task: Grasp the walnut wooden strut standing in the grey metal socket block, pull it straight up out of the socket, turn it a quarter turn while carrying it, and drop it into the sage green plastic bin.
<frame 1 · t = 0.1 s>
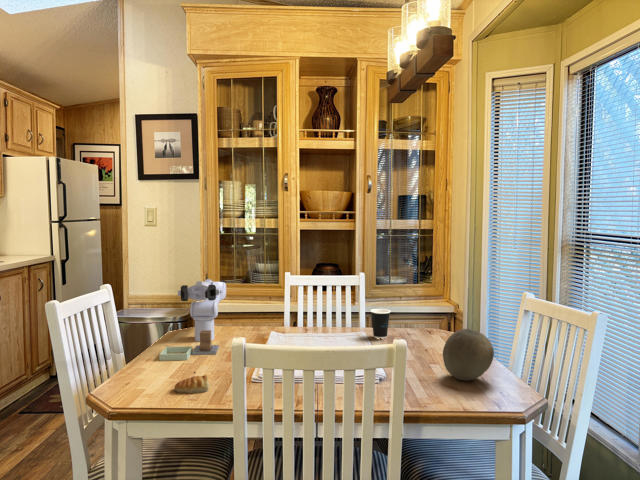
hand: (194, 294, 159), 22 cm above the table, fingers open, 7 cm apart
pastry: (194, 390, 130), on the table
bin: (176, 358, 157), on the table
cantaloupe: (466, 379, 139), on the table
dixie cup: (380, 338, 186), on the table
strut: (205, 351, 163), point 1 cm above the table, touching socket block
socket block: (205, 354, 163), on the table
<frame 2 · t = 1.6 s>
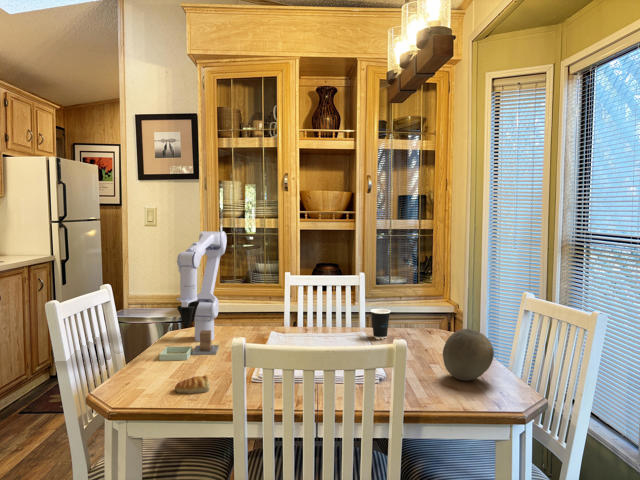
hand: (188, 324, 164), 10 cm above the table, fingers open, 7 cm apart
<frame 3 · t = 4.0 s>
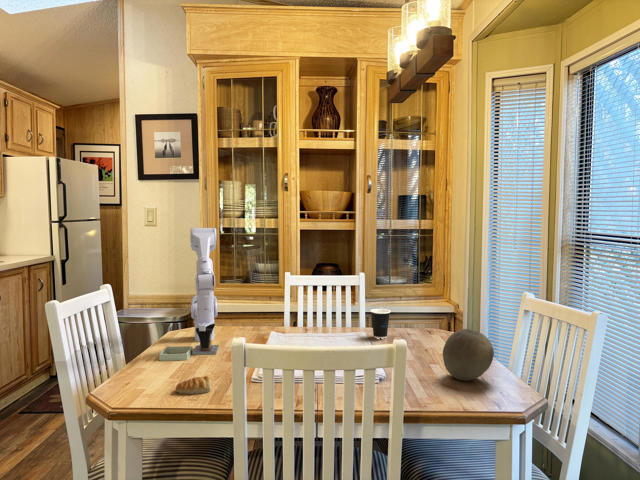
hand: (205, 346, 163), 3 cm above the table, fingers closed on strut, 3 cm apart
strut: (205, 351, 163), point 1 cm above the table, touching gripper, socket block
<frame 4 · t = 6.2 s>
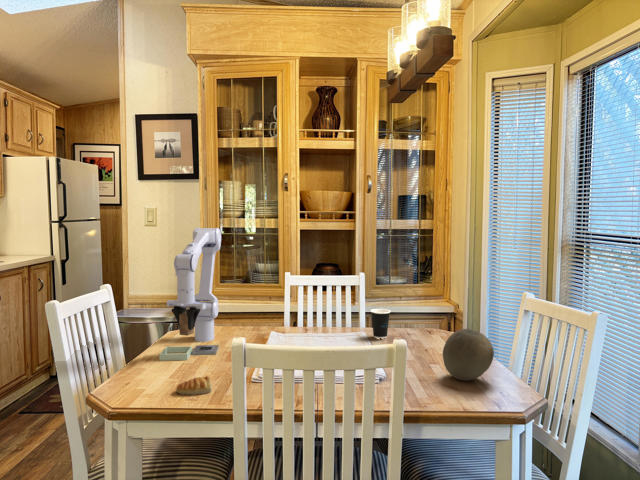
hand: (186, 328, 159), 10 cm above the table, fingers closed on strut, 3 cm apart
strut: (186, 334, 159), point 8 cm above the table, touching gripper
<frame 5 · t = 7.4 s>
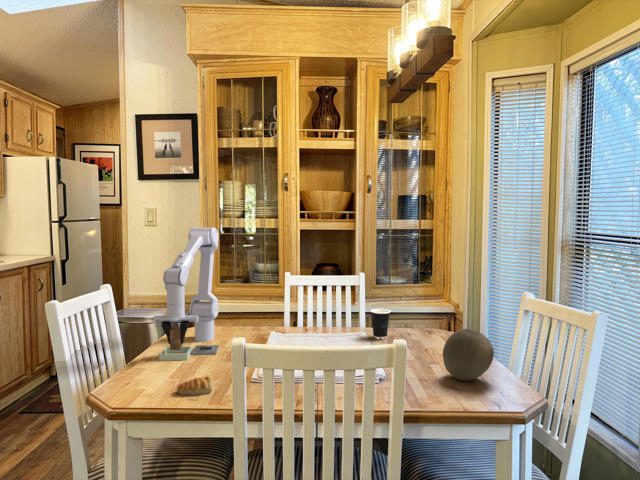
hand: (176, 343, 157), 5 cm above the table, fingers closed on strut, 3 cm apart
strut: (176, 348, 157), point 4 cm above the table, touching gripper
when the fingers open (4 cm above the table, at t = 8.5 s): strut drops 1 cm, resting on bin.
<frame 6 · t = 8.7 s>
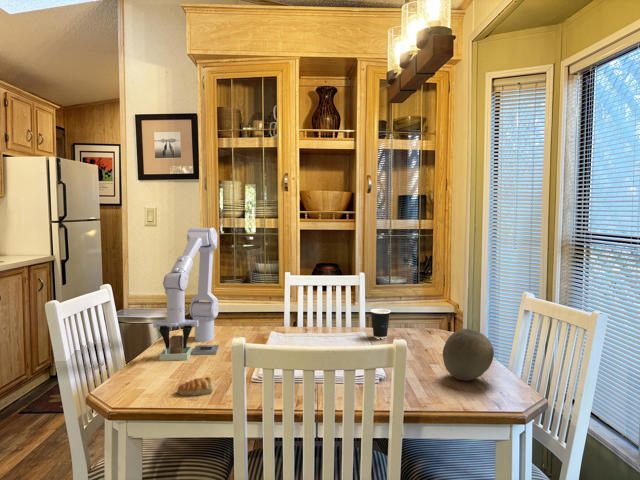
hand: (176, 347, 157), 4 cm above the table, fingers open, 5 cm apart
strut: (176, 357, 157), point 1 cm above the table, touching bin
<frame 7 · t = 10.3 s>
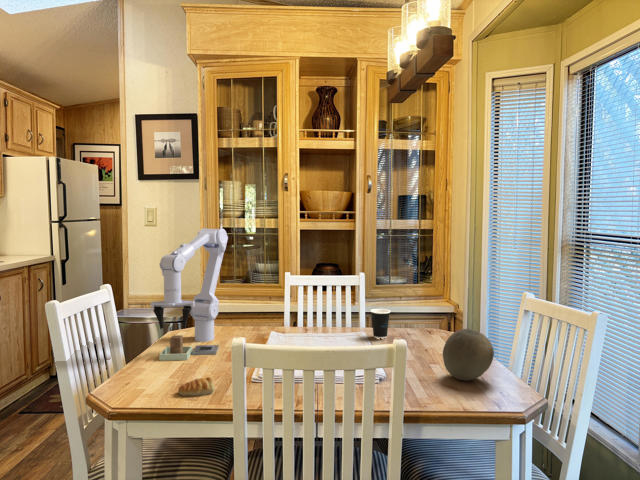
hand: (173, 327, 162), 9 cm above the table, fingers open, 7 cm apart
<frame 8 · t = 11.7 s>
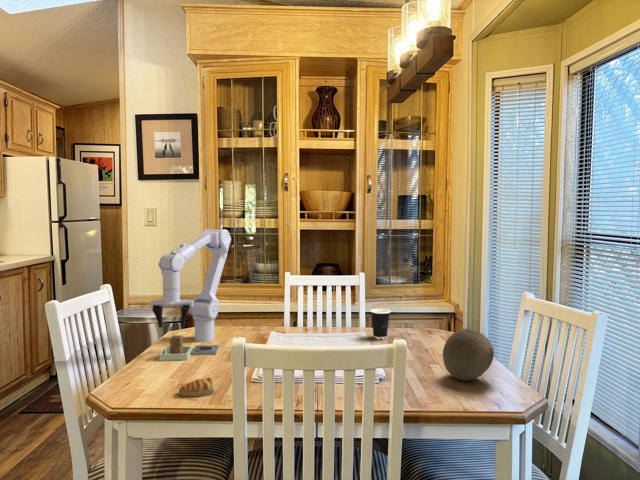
hand: (171, 326, 164), 9 cm above the table, fingers open, 7 cm apart
at the end: strut 0.2 cm off-centre on the bin, point 0.6 cm above the bin's base; the gripper is holding nothing; strut tilted 0° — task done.
